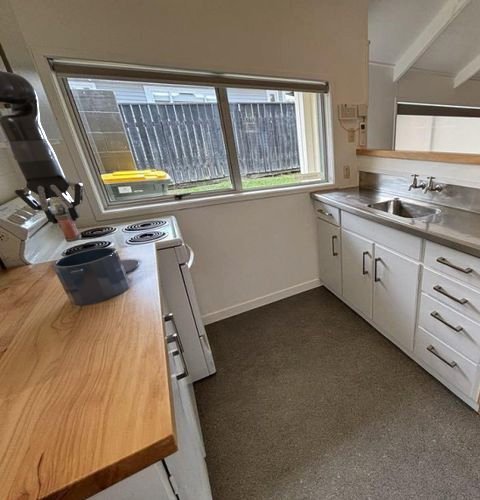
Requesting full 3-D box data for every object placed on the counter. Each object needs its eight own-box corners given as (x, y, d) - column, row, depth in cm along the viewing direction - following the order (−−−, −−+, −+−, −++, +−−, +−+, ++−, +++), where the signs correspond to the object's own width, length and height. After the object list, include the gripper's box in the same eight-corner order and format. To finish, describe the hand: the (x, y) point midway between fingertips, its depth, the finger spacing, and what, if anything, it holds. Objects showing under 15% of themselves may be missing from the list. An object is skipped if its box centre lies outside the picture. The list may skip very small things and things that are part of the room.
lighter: (67, 236, 85) (51, 203, 81) (81, 233, 87) (67, 201, 83) (65, 243, 79) (48, 208, 75) (81, 239, 81) (65, 205, 77)
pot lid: (80, 285, 94) (73, 270, 92) (93, 268, 107) (87, 254, 105) (136, 273, 101) (130, 259, 99) (142, 258, 114) (137, 245, 112)
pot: (60, 316, 78) (38, 276, 73) (82, 285, 94) (66, 251, 90) (124, 300, 84) (108, 262, 79) (134, 274, 101) (121, 241, 96)
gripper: (76, 156, 80) (100, 214, 87) (6, 160, 74) (38, 223, 81) (67, 157, 74) (93, 220, 81) (-10, 162, 68) (26, 230, 75)
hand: (65, 221), depth 81 cm, fingers closed on lighter, 3 cm apart
